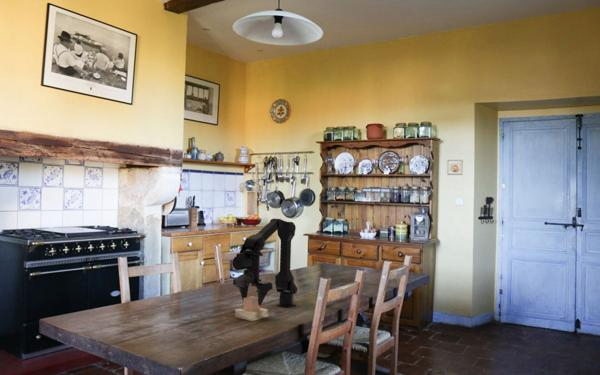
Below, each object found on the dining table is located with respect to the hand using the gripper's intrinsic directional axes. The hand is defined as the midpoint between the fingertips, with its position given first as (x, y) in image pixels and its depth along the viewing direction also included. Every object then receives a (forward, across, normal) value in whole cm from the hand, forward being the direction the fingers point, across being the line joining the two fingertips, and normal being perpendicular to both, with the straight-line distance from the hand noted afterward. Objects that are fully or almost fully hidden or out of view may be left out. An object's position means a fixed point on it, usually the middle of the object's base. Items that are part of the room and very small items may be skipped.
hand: (251, 303), depth 206 cm
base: (+6, 0, 0) cm, 6 cm away
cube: (+2, 0, 0) cm, 2 cm away
